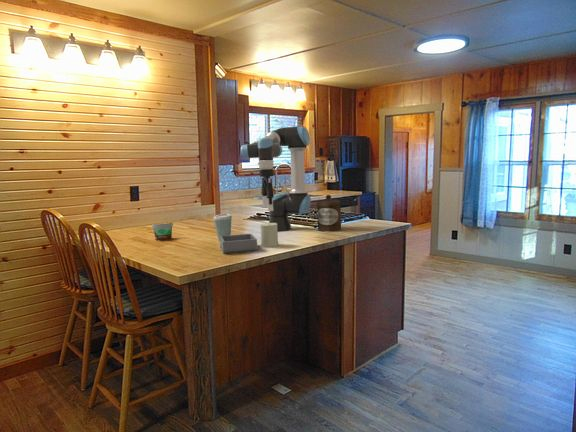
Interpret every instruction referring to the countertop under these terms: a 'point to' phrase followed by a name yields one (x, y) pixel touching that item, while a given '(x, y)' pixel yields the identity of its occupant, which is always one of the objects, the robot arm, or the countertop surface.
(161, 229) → the food container
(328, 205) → the wooden container
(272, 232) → the can
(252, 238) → the tub
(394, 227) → the countertop surface
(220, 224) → the disposable coffee cup
